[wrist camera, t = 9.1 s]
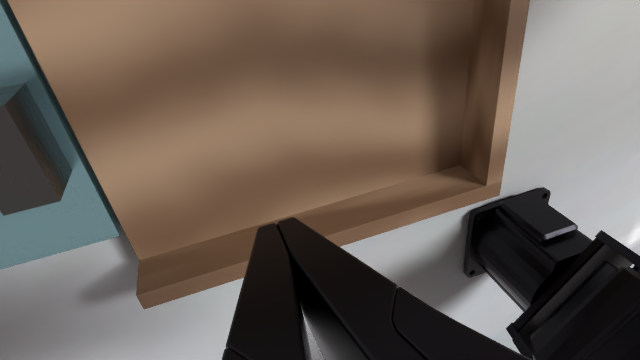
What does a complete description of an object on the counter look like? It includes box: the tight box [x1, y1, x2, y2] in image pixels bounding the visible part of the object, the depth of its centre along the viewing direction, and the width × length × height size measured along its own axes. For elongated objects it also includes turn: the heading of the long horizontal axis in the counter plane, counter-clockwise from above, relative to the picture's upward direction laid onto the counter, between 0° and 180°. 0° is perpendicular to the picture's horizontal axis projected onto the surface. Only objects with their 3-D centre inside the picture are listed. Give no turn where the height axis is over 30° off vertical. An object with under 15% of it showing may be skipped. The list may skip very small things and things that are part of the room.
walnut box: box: [7, 0, 530, 309], centre depth 18 cm, size 18×20×4 cm
